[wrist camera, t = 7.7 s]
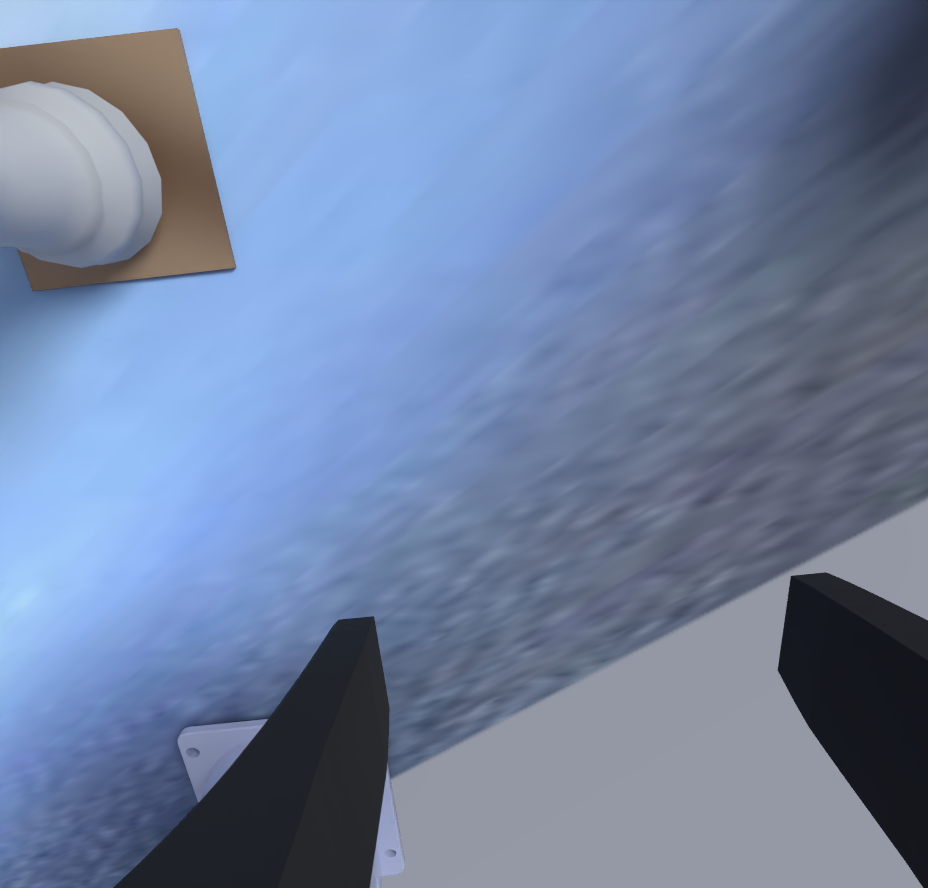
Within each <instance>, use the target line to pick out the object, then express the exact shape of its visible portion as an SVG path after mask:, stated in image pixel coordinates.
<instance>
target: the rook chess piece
mask: <svg viewBox="0 0 928 888" xmlns="http://www.w3.org/2000/svg"><path fill="white" fill-rule="evenodd" d="M161 215H162V193H161V178H160V175H159V172H158V170H157V167H156V165H155V162H154V159H153V157H152V154H151V151H150V149H149V146H148V144H147V142H146V141H145V140H144V139H143V137H142V136H141V135H140V134H139V132H138V131H137V130H136V129H135V127H134V126H133V125H132V124H131V122H130V121H129V120H128V119H127V117H126V116H125V115H124V114H123V112H122V111H120V110H119V109H117V108H116V107H114V106H113V105H111V104H110V103H108V102H107V101H105V100H103V99H102V98H100V97H99V96H97V95H96V94H94V93H93V92H91V91H90V90H88V89H83V88H79V87H74V86H70V85H65V84H61V83H56V82H50V83H46V84H42V83H37V82H33V81H28V82H24V83H20V84H16V85H12V86H8V87H4V88H0V247H14V248H16V249H18V250H20V251H21V252H25V253H29V254H30V255H32V256H34V257H36V258H37V259H39V260H42V261H48V262H53V263H58V264H63V265H68V266H73V267H79V268H84V267H88V266H93V265H104V264H109V263H113V262H118V261H123V260H128V259H130V258H131V257H132V256H133V255H135V254H136V253H137V252H138V251H139V250H141V249H142V248H143V247H144V246H145V245H147V244H148V243H149V242H150V241H151V239H152V236H153V234H154V231H155V229H156V227H157V224H158V222H159V219H160V217H161Z"/></svg>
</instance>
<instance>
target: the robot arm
mask: <svg viewBox="0 0 928 888" xmlns="http://www.w3.org/2000/svg"><path fill="white" fill-rule="evenodd" d="M778 671H779V673H780V675H781V677H782V679H783V681H784V683H785V685H786V687H787V688H788V690H789V692H790V694H791V696H792V698H793V700H794V702H795V704H796V705H797V707H798V709H799V711H800V712H801V714H802V716H803V718H804V719H805V721H806V723H807V724H808V726H809V728H810V729H811V731H812V732H813V734H814V735H815V736H816V738H817V739H818V741H819V742H820V744H821V745H822V746H823V748H824V749H825V751H826V752H827V753H828V755H829V756H830V757H831V759H832V760H833V762H834V763H835V765H836V766H837V767H838V769H839V770H840V772H841V773H842V774H843V776H844V777H845V779H846V780H847V781H848V783H849V784H850V786H851V787H852V788H853V790H854V791H855V792H856V794H857V795H858V797H859V798H860V799H861V801H862V802H863V803H864V805H865V806H866V808H867V809H868V810H869V811H870V813H871V814H872V816H873V817H874V818H875V820H876V821H877V823H878V824H879V825H880V827H881V828H882V830H883V831H884V832H885V834H886V835H887V836H888V838H889V839H890V841H891V842H892V843H893V845H894V846H895V848H896V849H897V850H898V851H899V853H900V854H901V856H902V857H903V859H904V860H905V861H906V863H907V864H908V866H909V867H910V869H911V870H912V872H913V873H914V875H915V876H916V878H917V879H918V880H919V882H920V883H921V885H922V886H923V888H928V620H926V619H924V618H922V617H920V616H918V615H916V614H913V613H911V612H909V611H907V610H905V609H903V608H901V607H899V606H897V605H895V604H893V603H891V602H889V601H887V600H885V599H883V598H881V597H879V596H877V595H875V594H873V593H870V592H868V591H867V590H865V589H862V588H860V587H858V586H856V585H854V584H852V583H850V582H847V581H845V580H843V579H840V578H838V577H836V576H833V575H831V574H829V573H816V574H806V575H796V576H791V580H790V587H789V594H788V601H787V608H786V615H785V623H784V629H783V637H782V644H781V651H780V658H779V666H778ZM388 737H389V703H388V697H387V691H386V685H385V679H384V673H383V667H382V661H381V656H380V650H379V644H378V638H377V632H376V626H375V620H374V616H373V617H363V618H352V619H342V620H338V621H337V622H336V623H335V624H334V625H333V627H332V628H331V630H330V631H329V633H328V634H327V636H326V637H325V639H324V641H323V642H322V644H321V645H320V647H319V648H318V650H317V651H316V653H315V654H314V656H313V657H312V659H311V660H310V662H309V663H308V665H307V666H306V667H305V669H304V670H303V672H302V673H301V675H300V676H299V678H298V679H297V681H296V682H295V683H294V685H293V686H292V687H291V689H290V690H289V692H288V693H287V694H286V696H285V697H284V698H283V700H282V701H281V703H280V704H279V705H278V707H277V708H276V709H275V711H274V712H273V713H272V715H271V716H270V717H269V719H263V720H253V721H243V722H233V723H222V724H212V725H202V726H192V727H187V728H185V729H183V730H182V731H181V733H180V735H179V737H178V739H177V742H178V746H179V749H180V752H181V755H182V758H183V761H184V763H185V766H186V769H187V772H188V775H189V778H190V781H191V783H192V786H193V789H194V792H195V795H196V798H197V801H198V804H197V805H196V806H195V807H194V808H193V809H192V810H191V811H190V812H189V813H188V814H187V816H186V817H185V818H184V819H183V820H182V821H181V822H180V823H179V824H178V825H177V826H176V827H175V828H174V829H173V830H172V831H171V832H170V834H169V835H168V836H167V837H166V838H165V839H163V840H162V841H161V842H160V843H159V844H158V845H157V846H156V847H155V848H154V849H153V850H152V851H151V852H150V853H149V854H148V855H147V856H146V857H145V858H144V859H143V860H142V861H141V862H140V863H139V864H138V865H137V866H136V867H135V868H134V869H133V870H132V871H131V872H130V873H129V874H128V875H126V876H125V877H124V878H123V879H122V880H121V881H120V882H119V883H118V884H117V885H116V886H115V887H114V888H381V882H382V876H391V875H397V874H399V873H401V872H402V871H403V870H404V862H405V859H404V853H403V847H402V842H401V837H400V830H399V825H398V819H397V814H396V808H395V802H394V797H393V791H392V786H391V780H390V774H389V768H388V763H387V760H388ZM194 748H196V749H194Z"/></svg>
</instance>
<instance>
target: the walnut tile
mask: <svg viewBox="0 0 928 888" xmlns="http://www.w3.org/2000/svg"><path fill="white" fill-rule="evenodd" d="M28 81H33V82H37V83H42V84H46V83H50V82H56V83H61V84H65V85H70V86H74V87H79V88H83V89H88V90H90V91H91V92H93V93H94V94H96V95H97V96H99V97H100V98H102V99H103V100H105V101H107V102H108V103H110V104H111V105H113V106H114V107H116V108H117V109H119V110H120V111H122V112H123V114H124V115H125V116H126V117H127V119H128V120H129V121H130V122H131V124H132V125H133V126H134V127H135V129H136V130H137V131H138V132H139V134H140V135H141V136H142V137H143V139H144V140H145V141H146V142H147V144H148V146H149V149H150V151H151V154H152V157H153V159H154V162H155V165H156V167H157V170H158V172H159V175H160V178H161V193H162V215H161V217H160V219H159V222H158V224H157V227H156V229H155V231H154V234H153V236H152V239H151V241H150V242H149V243H148V244H147V245H145V246H144V247H143V248H142V249H141V250H139V251H138V252H137V253H136V254H135V255H133V256H132V257H131V258H130V259H128V260H123V261H118V262H113V263H109V264H104V265H93V266H88V267H84V268H79V267H73V266H68V265H63V264H58V263H53V262H48V261H42V260H39V259H37V258H36V257H34V256H32V255H30V254H29V253H25V252H21V251H20V250H18V252H19V255H20V257H21V260H22V263H23V266H24V268H25V271H26V274H27V277H28V279H29V282H30V285H31V288H32V290H33V291H38V290H47V289H56V288H64V287H73V286H82V285H90V284H99V283H108V282H117V281H125V280H134V279H143V278H151V277H160V276H169V275H177V274H186V273H195V272H204V271H212V270H221V269H230V268H236V264H235V260H234V256H233V252H232V248H231V243H230V239H229V235H228V231H227V227H226V222H225V218H224V214H223V210H222V206H221V201H220V197H219V193H218V189H217V185H216V180H215V176H214V172H213V168H212V164H211V160H210V155H209V151H208V147H207V143H206V139H205V134H204V130H203V126H202V122H201V118H200V113H199V109H198V105H197V101H196V97H195V92H194V88H193V84H192V80H191V76H190V71H189V67H188V63H187V59H186V55H185V50H184V46H183V42H182V38H181V34H180V30H179V29H177V28H174V29H166V30H157V31H148V32H140V33H131V34H122V35H114V36H105V37H96V38H87V39H79V40H70V41H61V42H53V43H44V44H35V45H27V46H18V47H9V48H1V49H0V88H4V87H8V86H12V85H16V84H20V83H24V82H28Z"/></svg>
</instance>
